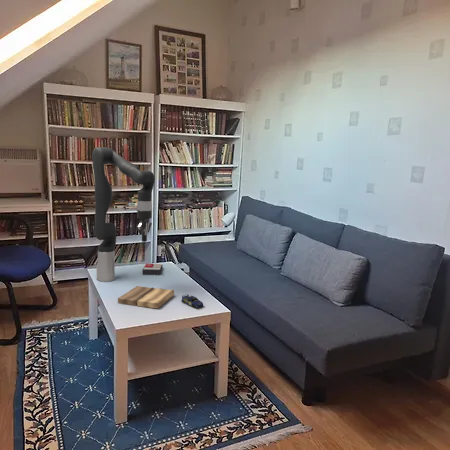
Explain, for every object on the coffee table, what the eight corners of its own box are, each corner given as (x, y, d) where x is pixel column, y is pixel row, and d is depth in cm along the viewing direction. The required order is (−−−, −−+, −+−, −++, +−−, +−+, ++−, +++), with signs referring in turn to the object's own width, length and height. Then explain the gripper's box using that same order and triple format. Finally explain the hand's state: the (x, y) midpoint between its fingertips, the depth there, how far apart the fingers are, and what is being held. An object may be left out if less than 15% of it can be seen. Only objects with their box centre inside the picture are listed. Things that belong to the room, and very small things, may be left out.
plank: (137, 305, 194) (137, 300, 193) (155, 292, 213) (155, 288, 212) (158, 308, 191) (158, 303, 190) (174, 294, 210) (174, 289, 209)
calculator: (162, 263, 258) (160, 268, 243) (162, 269, 258) (160, 275, 243) (145, 262, 257) (142, 268, 242) (145, 269, 257) (142, 275, 243)
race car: (208, 307, 197) (209, 299, 196) (199, 311, 192) (199, 302, 191) (187, 299, 206) (187, 291, 205) (177, 303, 201) (177, 295, 200)
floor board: (117, 303, 196) (117, 297, 196) (137, 290, 215) (137, 285, 215) (136, 306, 194) (136, 300, 193) (154, 292, 213) (154, 287, 212)
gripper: (143, 207, 216) (143, 238, 219) (131, 210, 203) (131, 243, 206) (156, 208, 214) (156, 239, 217) (145, 211, 201) (145, 244, 204)
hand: (144, 241), depth 212 cm, fingers closed
